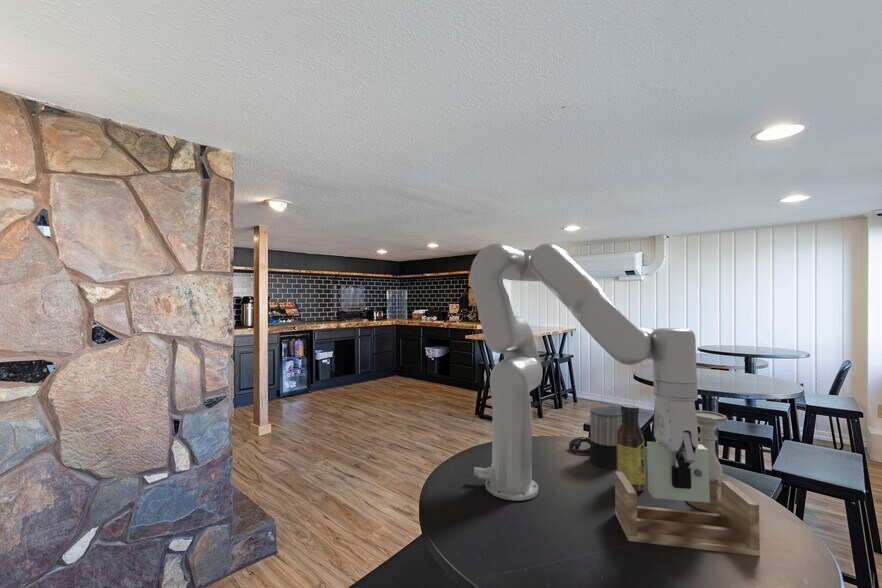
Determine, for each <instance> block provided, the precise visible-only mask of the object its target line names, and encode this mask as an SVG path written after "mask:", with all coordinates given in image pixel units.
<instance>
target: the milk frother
mask: <svg viewBox="0 0 882 588" xmlns="http://www.w3.org/2000/svg"><path fill="white" fill-rule="evenodd" d="M589 412H590V414H589V415H590V416H589V417H590V418H589V419H590V421H589V422H590V423H589V424H590V427H589V428H590V437H587V436H586V437H584V436H581V437H575V438H573V439H571V440H570V442H569V443H568V448H569V450H570V451H571V452H574V453H575V454H580V455H586V454H589V457H588V460H589V462H590V463H592V464H593V465H595V466H597V467H600V468H607V469H617V431H618V429H619V428H620V426H621V425H622V421H621V420H622V412H621V409H618V408H612V407H605V406H594V407H591V408H589ZM581 438H586V439H581ZM582 443H587V444H589V445H590V446H589V448H586V449H580V447H581V444H582Z"/></svg>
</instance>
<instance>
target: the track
mask: <svg viewBox="0 0 882 588" xmlns="http://www.w3.org/2000/svg"><path fill="white" fill-rule="evenodd" d="M614 477H615V478H614V480H615V481H614V483H615V485H614V489H615V490H614V492H615V493H614V494H615V497H614V498H615V499H614V501H615V503H614V506H615V507H614V512H615V513H614V514H615V516H616V518H617V520H618V522H619V524H620V526H621V528H622V530H623V532H624V534H625V537H626V538H627V541H628V542H635V543H644V544H645V543H646V544H653V545H661V546H669V547H679V548H680V547H681V548H688V549H694V550H695V549H696V550H705V551H713V552H720V553H721V552H723V553H730V554H738V555H739V554H740V555H747V556H748V555H749V556H756V557H760V556H761V554H760V553H761V552H760V551H761V548H760V547H761V546H760V545H761V543H760V540H761V539H760V537H761V536H760V504H758V503H757V502H756V501H754V499H752V498H751V497H749V496H748V495H747V494H746V493H745V492H744V491H742V490H741V489H740V488H738V487H737V486H736V485H735V484H733V483H732V482H731V481H729V480H720V483H721V486H720V494H721V514H717V513H711V512H706V511H703V512H701V511H693V510H685V509H683V510H682V509H674V508H672V509H671V508H663V507H654V506H643V505H638V492H637V491H635V490H634V488H633V487H632V485H631V484H630V482H629V481H628V479H627V478H626V476H625V475H624V473H623V472H617V470H616V471H615V472H614Z"/></svg>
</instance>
